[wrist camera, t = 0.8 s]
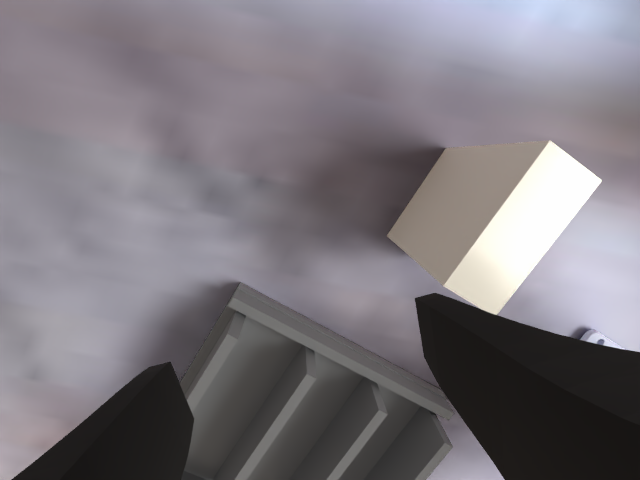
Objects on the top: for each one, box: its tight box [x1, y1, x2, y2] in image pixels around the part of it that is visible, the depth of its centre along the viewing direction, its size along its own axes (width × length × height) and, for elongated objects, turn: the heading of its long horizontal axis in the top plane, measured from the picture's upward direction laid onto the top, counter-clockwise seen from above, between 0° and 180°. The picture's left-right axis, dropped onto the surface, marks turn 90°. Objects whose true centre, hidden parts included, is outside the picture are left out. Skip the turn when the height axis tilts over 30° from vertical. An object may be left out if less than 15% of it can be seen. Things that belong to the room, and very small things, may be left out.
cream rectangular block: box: [387, 141, 602, 315], centre depth 16 cm, size 2×6×8 cm, turn 148°
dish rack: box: [180, 282, 454, 480], centre depth 20 cm, size 16×14×4 cm
